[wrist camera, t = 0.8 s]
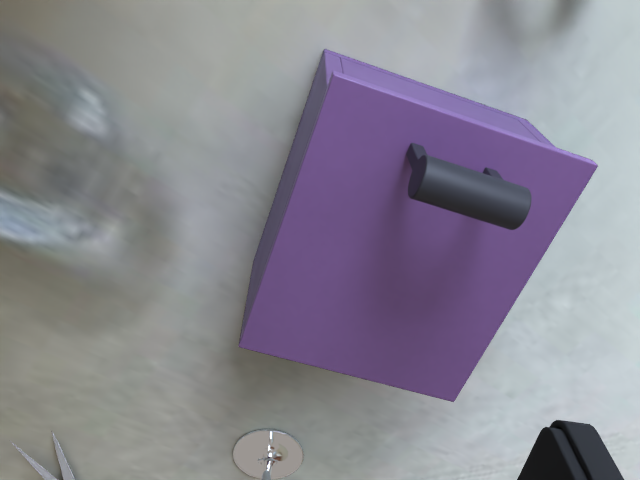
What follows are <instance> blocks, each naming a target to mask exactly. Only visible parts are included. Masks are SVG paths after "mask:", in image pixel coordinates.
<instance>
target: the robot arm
mask: <svg viewBox="0 0 640 480" xmlns="http://www.w3.org/2000/svg"><path fill="white" fill-rule="evenodd" d="M517 480H624V479H623V477H622V475H621V473H620V472H619V470H618V468H617V466H616V464H615V463H614V461H613V459H612V457H611V456H610V454H609V452H608V450H607V448H606V447H605V445H604V443H603V441H602V440H601V438H600V436H599V434H598V432H597V431H596V430H595V428H594V427H593V426H591V425H590V424H584V423H576V422H569V421H561V420H556V421H554V422H553V423H552V424H551V426H550V427H545V428H543V429H542V430H541V432H540V434H539V436H538V438H537V440H536V442H535V444H534V446H533V448H532V450H531V452H530V454H529V457H528V459H527V461H526V463H525V465H524V467H523V469H522V471H521V473H520V475H519V477H518V479H517Z"/></svg>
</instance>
